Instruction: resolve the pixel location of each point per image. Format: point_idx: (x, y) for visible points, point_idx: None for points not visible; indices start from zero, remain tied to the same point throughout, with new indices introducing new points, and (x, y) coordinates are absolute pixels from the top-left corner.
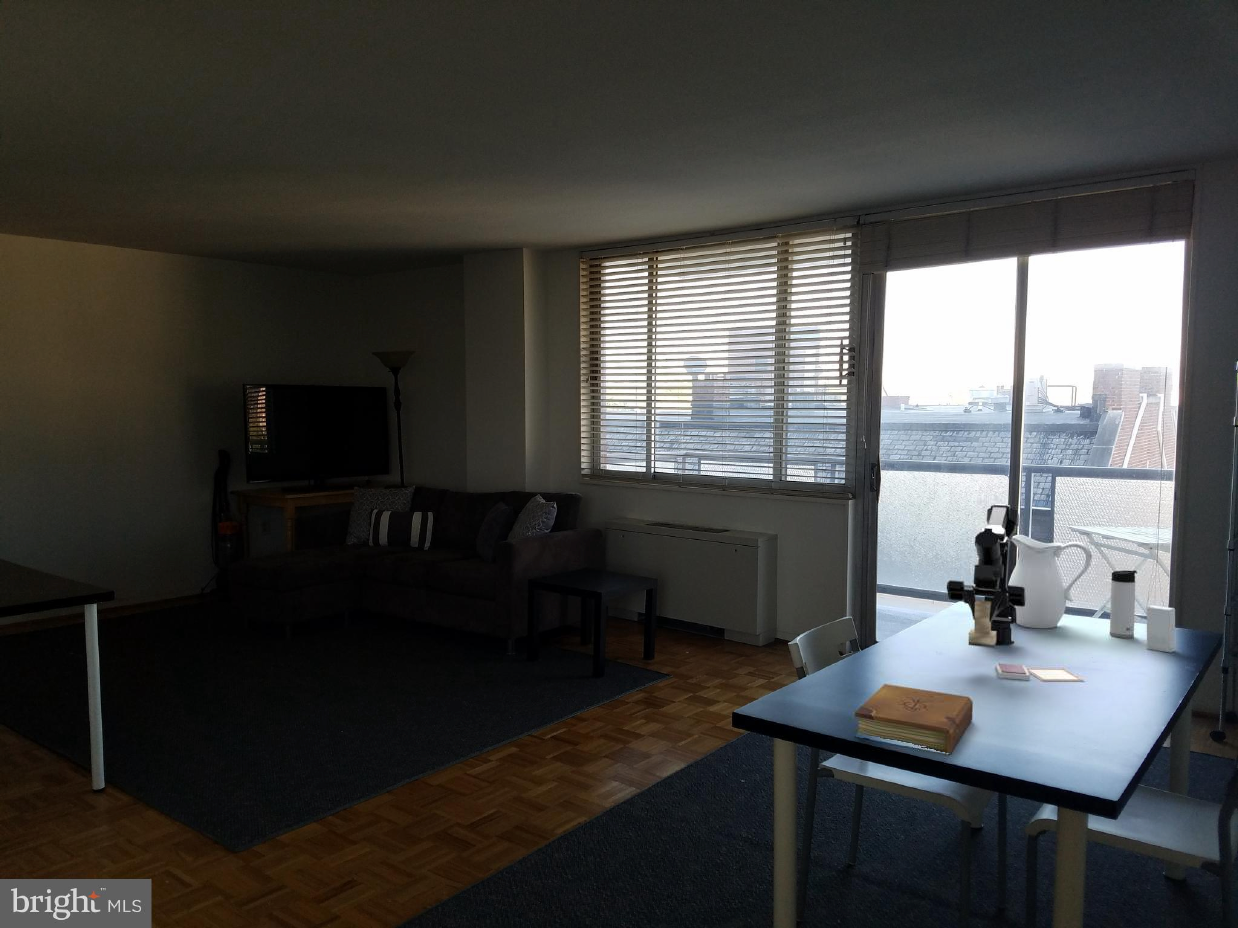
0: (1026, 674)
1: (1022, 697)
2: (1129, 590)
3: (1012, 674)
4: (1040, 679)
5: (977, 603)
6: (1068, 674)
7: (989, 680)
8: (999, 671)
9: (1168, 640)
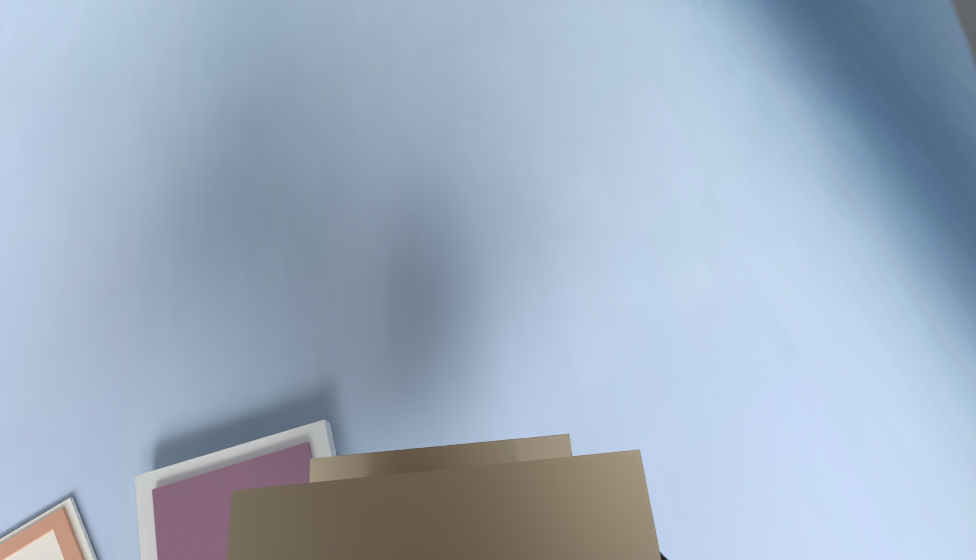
0: (155, 485)
1: (201, 142)
2: None
3: (245, 443)
4: (78, 520)
5: (569, 459)
6: None
7: (372, 332)
8: (325, 453)
9: None
